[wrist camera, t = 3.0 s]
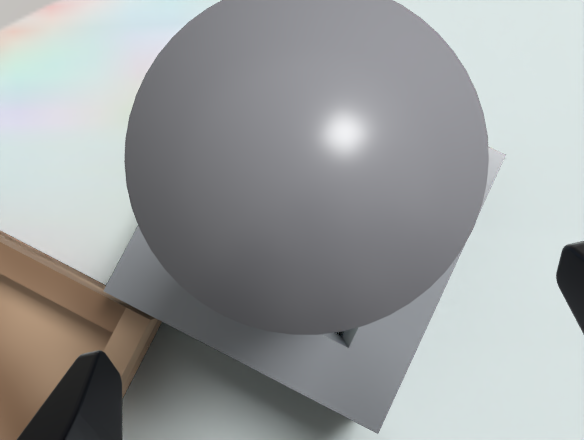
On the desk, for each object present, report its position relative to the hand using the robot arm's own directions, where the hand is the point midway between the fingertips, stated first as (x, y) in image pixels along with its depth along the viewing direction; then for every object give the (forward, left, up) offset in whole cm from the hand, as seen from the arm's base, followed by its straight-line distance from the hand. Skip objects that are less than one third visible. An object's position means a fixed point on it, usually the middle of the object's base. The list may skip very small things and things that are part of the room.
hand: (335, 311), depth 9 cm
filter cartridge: (+2, +2, -10) cm, 10 cm away
